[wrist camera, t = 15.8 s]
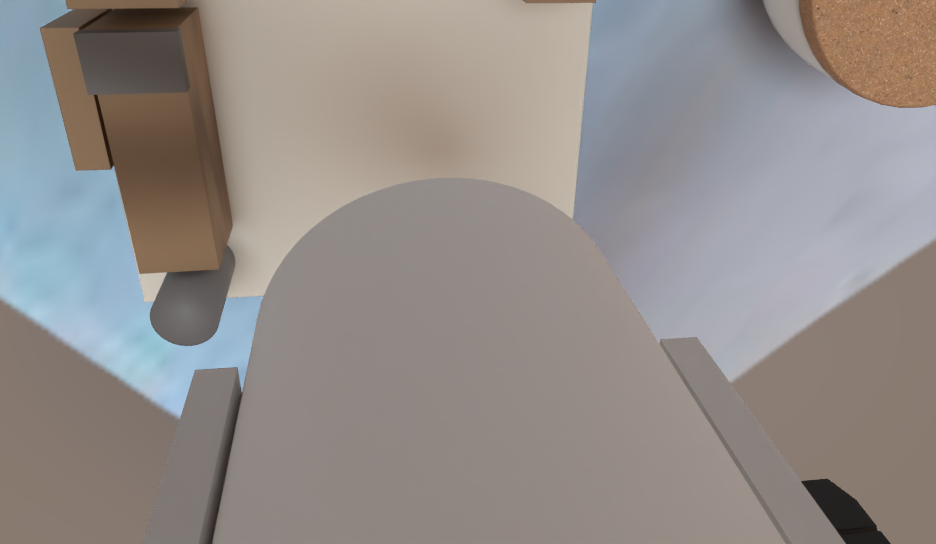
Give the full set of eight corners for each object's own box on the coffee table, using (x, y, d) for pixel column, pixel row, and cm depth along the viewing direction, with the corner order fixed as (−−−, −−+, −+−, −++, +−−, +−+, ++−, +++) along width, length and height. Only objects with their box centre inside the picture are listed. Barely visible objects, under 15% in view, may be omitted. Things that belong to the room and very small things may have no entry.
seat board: (65, -114, 27) (-7, -107, 22) (592, -107, 30) (646, -99, 24) (152, 286, 36) (116, 364, 30) (559, 264, 38) (595, 334, 33)
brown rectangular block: (235, 225, 33) (219, 276, 29) (159, 229, 32) (133, 281, 28) (200, 7, 28) (176, 31, 24) (112, 8, 28) (72, 33, 24)
